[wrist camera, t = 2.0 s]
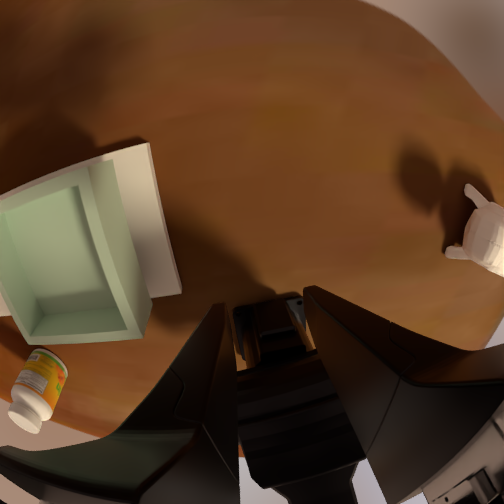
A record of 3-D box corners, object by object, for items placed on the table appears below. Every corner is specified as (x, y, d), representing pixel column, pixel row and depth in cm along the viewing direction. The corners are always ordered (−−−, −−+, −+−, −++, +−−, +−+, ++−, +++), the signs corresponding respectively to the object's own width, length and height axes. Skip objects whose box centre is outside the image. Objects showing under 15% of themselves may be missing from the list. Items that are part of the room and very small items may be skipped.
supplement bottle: (66, 384, 27) (44, 443, 18) (32, 364, 25) (4, 419, 16) (71, 362, 25) (44, 427, 16) (33, 339, 24) (-1, 399, 15)
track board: (182, 287, 23) (177, 315, 19) (-17, 313, 21) (-32, 331, 18) (149, 142, 18) (134, 144, 14) (-52, 224, 16) (-72, 237, 13)
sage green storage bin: (156, 293, 22) (143, 338, 17) (53, 307, 21) (28, 344, 16) (120, 156, 17) (87, 166, 12) (13, 195, 16) (-28, 215, 11)
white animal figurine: (480, 193, 27) (448, 170, 19) (530, 217, 20) (529, 204, 13) (462, 252, 30) (422, 258, 22) (509, 279, 23) (494, 302, 16)
